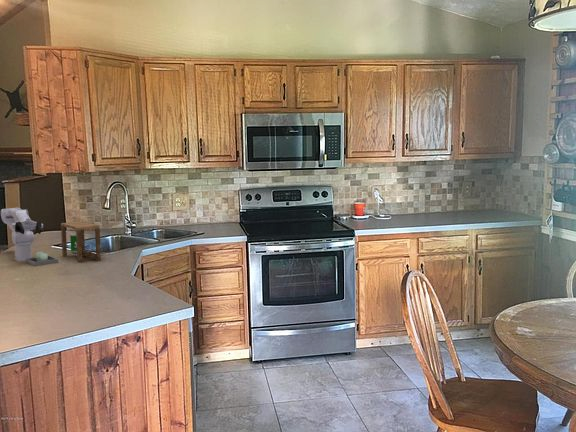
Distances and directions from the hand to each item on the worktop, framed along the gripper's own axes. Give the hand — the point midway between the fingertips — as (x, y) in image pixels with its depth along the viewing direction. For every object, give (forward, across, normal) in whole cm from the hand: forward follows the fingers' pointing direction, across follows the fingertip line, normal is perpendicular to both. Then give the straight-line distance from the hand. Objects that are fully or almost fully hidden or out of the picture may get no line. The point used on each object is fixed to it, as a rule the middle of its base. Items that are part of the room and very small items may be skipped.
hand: (31, 232), depth 258 cm
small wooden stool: (0, +27, +16) cm, 32 cm away
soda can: (-19, +32, +22) cm, 43 cm away
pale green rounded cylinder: (-3, +7, +19) cm, 20 cm away
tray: (0, +7, +18) cm, 20 cm away
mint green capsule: (+2, +7, +17) cm, 19 cm away
